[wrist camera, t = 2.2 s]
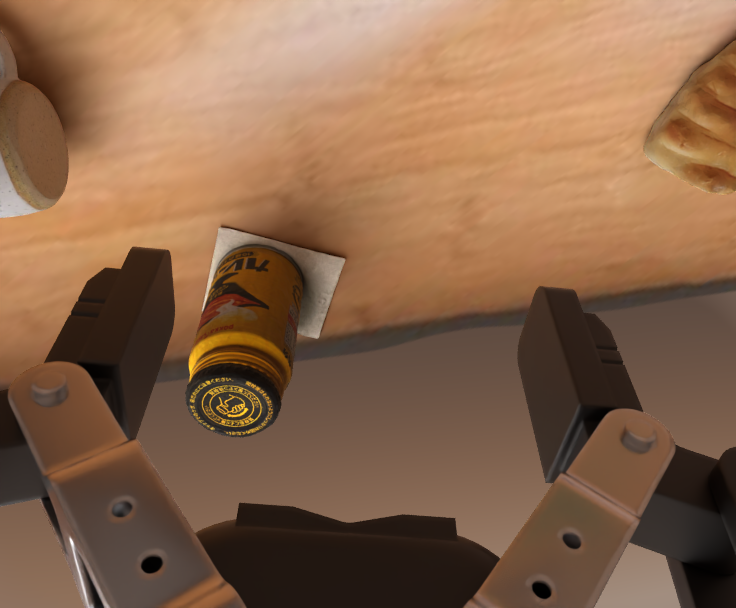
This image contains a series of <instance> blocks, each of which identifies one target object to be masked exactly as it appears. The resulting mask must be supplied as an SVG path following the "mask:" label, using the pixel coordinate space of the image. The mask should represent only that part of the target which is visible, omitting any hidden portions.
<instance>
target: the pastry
mask: <svg viewBox="0 0 736 608" xmlns="http://www.w3.org/2000/svg"><path fill="white" fill-rule="evenodd" d="M643 149H644V153H645V156H646V157H647V158H648V159H649V160H651V161H652V162H653V163H654V164H655V165H657V166H659V167H660V168H661V169H663V170H666V171H669V172H670V173H672V174H674V175H675V176H676V177H678V178H679V179H680V180H682V181H684V182H686V183H689V184H690V185H692V186H694V187H696V188H699V189H701V190H703V191H705V192H707V193H717V194H720V195H725V194H730V193H733V192H735V191H736V40H735V41H733V42H732V43H730V44H728V45H727V46H726V47H725V48H724V50H723V51H721V52H720V53H719V54H717V55H716V56H715V57H714V58H713V59H712V60H711V61H709V62H707V63H705V64H703V65H702V66H700V67H699V68H698V69H697V70H695V71H694V72H693V73H692V75H691V77H690V79H689V81H687V83H686V84H685V85H684V86H683V87H682V88H681V89H680V90H679V92H678V93H677V95H676V96H675V97H674V98H673V99H672V100H671V101H670V104H669V106H668V107H667V108H666V109H665V111H664V112H663V113H662V114H661V115H660V116H659V118H658V119H657V120H656V122H655V123H654V125H653V127H652V129H651V133H650V135H649V136H648V138H647V141H646V143H645V145H644V148H643Z"/></svg>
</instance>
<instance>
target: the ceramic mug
mask: <svg viewBox="0 0 736 608" xmlns="http://www.w3.org/2000/svg"><path fill="white" fill-rule="evenodd" d="M67 179H68V149H67V144H66V139H65V135H64V131H63V128H62V125H61V122H60V120H59V117H58V115H57V113H56V111H55V109H54V107H53V105H52V104H51V102H50V101H49V100H48V98H47V97H46V96H45V95H44V94H43V93H42V92H41V91H40V90H39V89H38V88H36V87H35V86H34V85H32V84H30V83H28V82H26V81H21V80H20V79H19V78H18V73H17V64H16V60H15V56H14V54H13V52H12V50H11V48H10V45H9V43H8V41H7V39H6V38H5V36H4V34H3V33H2V31H1V30H0V218H4V217H14V216H21V215H26V214H31V213H35V212H38V211H42V210H45V209H48V208H50V207H52V206H53V205H54V204H55V203H57V201H58V200H59V199H60V197H61V196H62V194H63V192H64V190H65V187H66V184H67Z"/></svg>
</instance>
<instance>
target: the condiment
mask: <svg viewBox="0 0 736 608" xmlns="http://www.w3.org/2000/svg"><path fill="white" fill-rule="evenodd" d="M344 262H345V259H344V258H340V257H335V256H331V255H328V254H325V253H319V252H315V251H312V250H308V249H304V248H299V247H297V246H292V245H290V244H286V243H283V242H279V241H276V240H272V239H268V238H263V237H260V236H256V235H252V234H249V233H244V232H239V231H237V230H232V229H228V228H220V227H219V230H218V235H217V240H216V245H215V250H214V255H213V260H212V265H211V270H210V274H209V279H208V284H207V289H206V294H205V299H204V304H203V309H202V311H203V313H202V316H201V320H200V324H199V327H198V330H197V334H196V337H195V340H194V344H193V347H192V351H191V354H190V357H189V370H190V380H189V384H188V385H187V390H186V404H187V406H188V410H189V412H190V413H191V415H192V416H193V418H194V419H195V420H196V421H197V422H198V423H199V424H200V425H202V426H203V427H204V428H206V429H208V430H210V431H213V432H215V433H218V434H221V435H224V436H230V437H246V436H251V435H254V434H256V433H258V432H261V431H263V430H264V429H266V428H267V427H269V426H270V425H272V424H273V423H274V421H275V420H276V418H277V416H278V413H279V411H280V408H281V400H282V397H283V394H284V391H285V390H286V388H287V386H288V384H289V382H290V380H291V376H292V369H293V361H294V356H295V346H296V338H297V334H300V335H303V336H308V337H313V338H317V339H318V337H319V334H320V331H321V328H322V325H323V322H324V319H325V316H326V313H327V310H328V307H329V304H330V301H331V299H332V296H333V292H334V290H335V287H336V284H337V282H338V279H339V276H340V272H341V270H342V267H343V264H344Z"/></svg>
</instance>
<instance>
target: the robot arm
mask: <svg viewBox="0 0 736 608" xmlns="http://www.w3.org/2000/svg"><path fill="white" fill-rule="evenodd" d="M174 317H175V302H174V289H173V277H172V264H171V255H170V252H169V250H163V249H153V248H142V247H132V248H131V249H130V251H129V253H128V255H127V257H126V260H125V262H124V264H123V266H122V268H121V269H115V268H104V269H103V270H102V271H100V272H99V273H98V274H96V275H95V276H94V277H92V278H91V279H90V280H89V281H87V283H86V285H85V287H84V289H83V291H82V292H81V294H80V296H79V298H78V302H76V304H75V306H74V307H73V309H72V311H71V315H69V317H68V319H67V321H66V322H65V324H64V326H63V328H62V330H61V332H60V334H59V336H58V337H57V339H56V341H55V343H54V345H53V347H52V349H51V351H50V352H49V354H48V356H47V358H46V360H45V362H44V363H43V364H39V365H36V366H34V367H31V368H29V369H28V370H26V371H24V372H23V373H21V374H20V375H19V376H18V377H17V378H16V379H15V380H14V381H13V382H12V384H11V386H10V388H9V389H6V390H2V391H0V506H5V505H10V504H15V503H20V502H25V501H30V500H35V499H39V500H40V503H41V505H42V507H43V509H44V512H45V514H46V516H47V518H48V521H49V523H50V525H51V527H52V529H53V531H54V534H55V536H56V538H57V541H58V543H59V545H60V547H61V549H62V552H63V554H64V556H65V558H66V560H67V563H68V565H69V567H70V569H71V572H72V575H73V577H74V580H75V582H76V585H77V588H78V591H79V593H80V596H81V599H82V601H83V604H84V606H85V608H594V606H595V604H596V603H597V601H598V599H599V597H600V595H601V593H602V591H603V590H604V588H605V586H606V584H607V582H608V580H609V578H610V576H611V574H612V573H613V571H614V569H615V567H616V565H617V563H618V561H619V560H620V558H621V556H622V554H623V552H624V550H625V548H626V547H627V545H628V543H629V542H630V543H633V544H635V545H638V546H641V547H643V548H646V549H649V550H652V551H655V552H657V553H660V554H663V555H665V556H666V559H667V562H668V566H669V569H670V572H671V575H672V579H673V582H674V586H675V589H676V592H677V596H678V599H679V603H680V606H681V608H736V447H733V448H730V449H728V450H726V451H725V452H724V453H723V454H722V456H721V457H720V459H719V460H717V459H714V458H711V457H708V456H705V455H702V454H699V453H696V452H693V451H690V450H687V449H685V448H682V447H679V446H677V445H675V442H674V439H673V437H672V435H671V433H670V432H669V431H668V429H667V428H666V427H665V426H664V425H663V424H662V423H661V422H659V421H658V420H657V419H655V418H653V417H652V416H650V415H648V414H646V413H644V412H643V410H642V407H641V405H640V402H639V400H638V397H637V395H636V392H635V390H634V387H633V385H632V382H631V380H630V378H629V375H628V373H627V370H626V368H625V365H623V361H622V358H621V355H620V353H619V351H617V345H616V343H615V340H614V338H613V336H612V333H611V331H610V329H609V328H608V327H607V326H606V325H605V324H604V323H603V322H602V321H601V320H600V319H599V318H598V317H597V316H596V315H595V314H590V313H583V310H582V308H581V305H580V302H579V299H578V297H577V294H576V292H575V291H574V290H573V289H565V288H554V287H544V286H540V287H538V288H537V290H536V292H535V294H534V297H533V300H532V303H531V306H530V309H529V312H528V315H527V318H526V321H525V324H524V327H523V330H522V333H521V336H520V340H519V345H518V366H519V370H520V374H521V379H522V383H523V387H524V391H525V395H526V400H527V404H528V409H529V413H530V417H531V421H532V425H533V430H534V434H535V438H536V442H537V447H538V451H539V455H540V460H541V464H542V468H543V473H544V477H545V481H546V483H553V484H552V486H551V487H550V489H549V490H548V492H547V493H546V495H545V496H544V498H543V499H542V500H541V502H540V503H539V505H538V506H537V508H536V509H535V510H534V512H533V513H532V514H531V516H530V518H529V519H528V520H527V522H526V523H525V524H524V526H523V527H522V529H521V530H520V532H519V533H518V535H517V536H516V537H515V539H514V540H513V542H512V543H511V545H510V546H509V547H508V549H507V550H506V552H505V553H504V555H503V556H502V557H501V559H500V558H499V557H498V556H496V555H495V554H493V553H492V552H490V551H489V550H488V549H486V548H484V547H482V546H481V545H479V544H477V543H475V542H473V541H471V540H469V539H466V538H464V537H461V536H458V535H457V531H456V521H455V518H445V517H431V516H417V515H397V516H391V517H385V518H378V519H372V520H366V521H360V522H354V523H346V522H341V521H338V520H335V519H332V518H328V517H325V516H322V515H319V514H315V513H312V512H309V511H306V510H302V509H299V508H296V507H290V506H277V505H263V504H249V503H239V508H238V513H237V519H236V520H230V521H225V522H222V523H218V524H214V525H212V526H209V527H207V528H204V529H202V530H200V531H198V532H196V533H194V532H193V530H192V528H191V526H190V525H189V523H188V521H187V520H186V518H185V516H184V515H183V513H182V511H181V510H180V508H179V506H178V505H177V503H176V502H175V500H174V498H173V497H172V495H171V493H170V492H169V490H168V488H167V487H166V485H165V483H164V482H163V480H162V479H161V477H160V475H159V473H158V472H157V470H156V468H155V467H154V465H153V464H152V462H151V460H150V459H149V457H148V456H147V454H146V452H145V450H144V449H143V447H142V446H141V444H140V443H139V441H138V440H137V439H136V436H137V433H138V431H139V427H140V425H141V421H142V419H143V416H144V412H145V410H146V407H147V404H148V401H149V398H150V395H151V392H152V390H153V387H154V384H155V381H156V378H157V375H158V372H159V369H160V366H161V363H162V360H163V358H164V355H165V352H166V349H167V346H168V343H169V340H170V337H171V334H172V330H173V325H174Z"/></svg>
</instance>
